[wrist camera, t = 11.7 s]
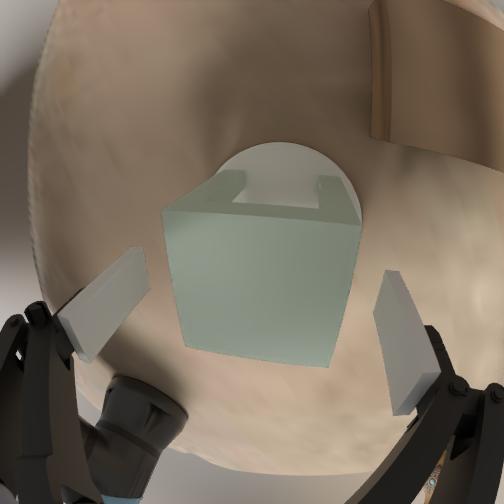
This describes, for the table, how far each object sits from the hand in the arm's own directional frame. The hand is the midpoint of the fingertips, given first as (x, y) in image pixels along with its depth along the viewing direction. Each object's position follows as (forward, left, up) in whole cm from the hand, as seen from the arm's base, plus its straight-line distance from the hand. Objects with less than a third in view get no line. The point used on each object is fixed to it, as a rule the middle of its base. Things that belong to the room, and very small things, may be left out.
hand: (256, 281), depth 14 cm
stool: (0, 0, -7) cm, 7 cm away
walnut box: (+11, +12, -8) cm, 18 cm away
